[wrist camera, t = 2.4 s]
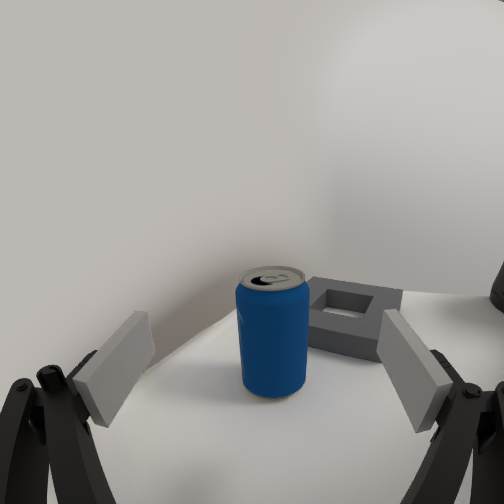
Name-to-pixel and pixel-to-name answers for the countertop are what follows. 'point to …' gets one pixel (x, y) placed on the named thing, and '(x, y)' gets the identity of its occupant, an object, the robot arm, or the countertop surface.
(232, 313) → the countertop surface
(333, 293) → the socket plate
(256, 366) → the beverage can
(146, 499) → the countertop surface
